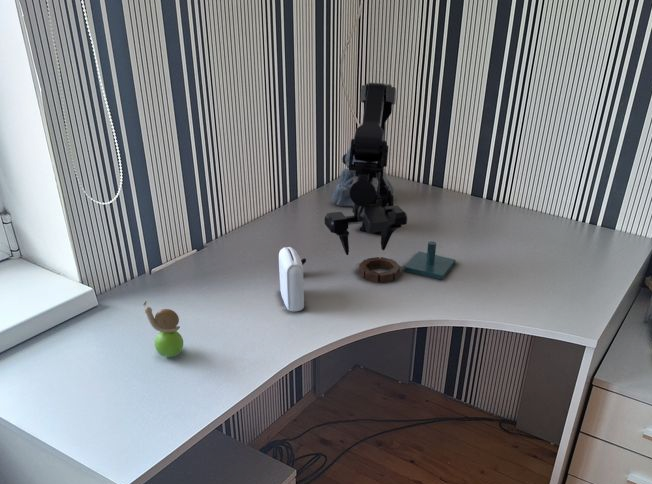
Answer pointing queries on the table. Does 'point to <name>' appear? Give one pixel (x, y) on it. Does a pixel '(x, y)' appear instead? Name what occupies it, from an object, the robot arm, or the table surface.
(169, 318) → the snail figurine
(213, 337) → the table surface
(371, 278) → the ring
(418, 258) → the post stand
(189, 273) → the table surface
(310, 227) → the table surface
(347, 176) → the koala plush
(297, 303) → the white toy toaster
